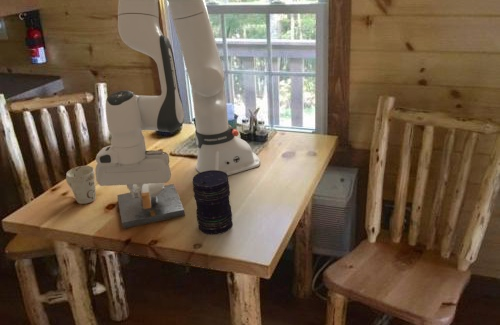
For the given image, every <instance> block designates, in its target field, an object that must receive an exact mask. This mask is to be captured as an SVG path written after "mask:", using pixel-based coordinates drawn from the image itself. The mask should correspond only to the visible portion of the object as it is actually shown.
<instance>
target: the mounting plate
mask: <svg viewBox="0 0 500 325" xmlns="http://www.w3.org/2000/svg"><path fill="white" fill-rule="evenodd" d="M116 197H117V202H118V207H119V214H120V215H119V216H120V220H121V226H122V229H128V228H134V227H137V226H142V225H146V224H147V225H148V224H152V223H157V222H160V221H161V222H162V221H166V220H170V219H175V218H180V217H184V216H186V211H185V208H184V206H183V203H182V201H181V198H180V196H179V194H178V191H177V189H176V186H175V183H172V184H166V185H164V190H163V192H162V193H160V194H159V195H157V196H154V197H151V208H148V209H143V203H142V199H141V198H133V196H132V195H131V193H130V192H126V193H122V194H121V193H120V194H117V195H116Z"/></svg>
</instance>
